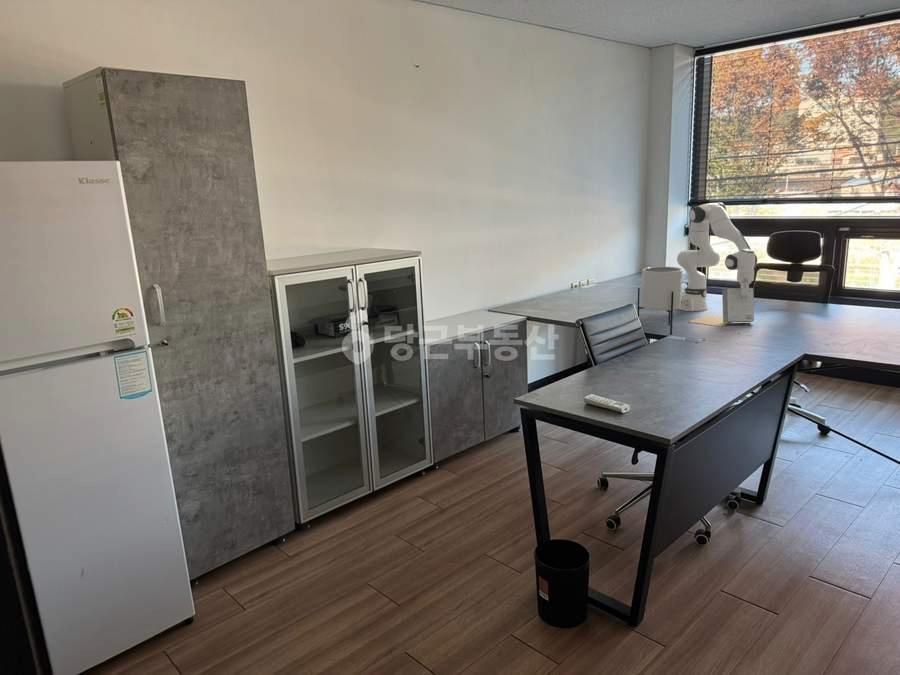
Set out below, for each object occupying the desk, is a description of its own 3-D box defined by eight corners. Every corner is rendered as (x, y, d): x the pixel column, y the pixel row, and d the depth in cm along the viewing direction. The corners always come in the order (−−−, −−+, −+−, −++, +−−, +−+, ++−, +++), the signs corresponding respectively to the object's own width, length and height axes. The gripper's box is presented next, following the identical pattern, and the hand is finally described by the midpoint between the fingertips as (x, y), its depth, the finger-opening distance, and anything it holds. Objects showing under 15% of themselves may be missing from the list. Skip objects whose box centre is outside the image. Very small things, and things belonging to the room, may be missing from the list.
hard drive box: (749, 322, 363) (749, 289, 364) (754, 321, 355) (754, 287, 356) (722, 322, 364) (722, 289, 365) (726, 321, 357) (726, 287, 358)
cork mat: (688, 322, 372) (688, 321, 371) (706, 315, 385) (706, 315, 385) (720, 326, 357) (720, 326, 357) (738, 319, 370) (738, 319, 370)
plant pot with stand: (680, 334, 344) (683, 272, 336) (636, 333, 352) (637, 272, 343) (679, 325, 366) (681, 266, 357) (637, 324, 374) (639, 266, 365)
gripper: (751, 280, 341) (750, 304, 344) (751, 274, 359) (749, 297, 362) (739, 280, 343) (737, 304, 347) (739, 274, 361) (737, 297, 365)
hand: (743, 301), depth 355 cm, fingers closed
